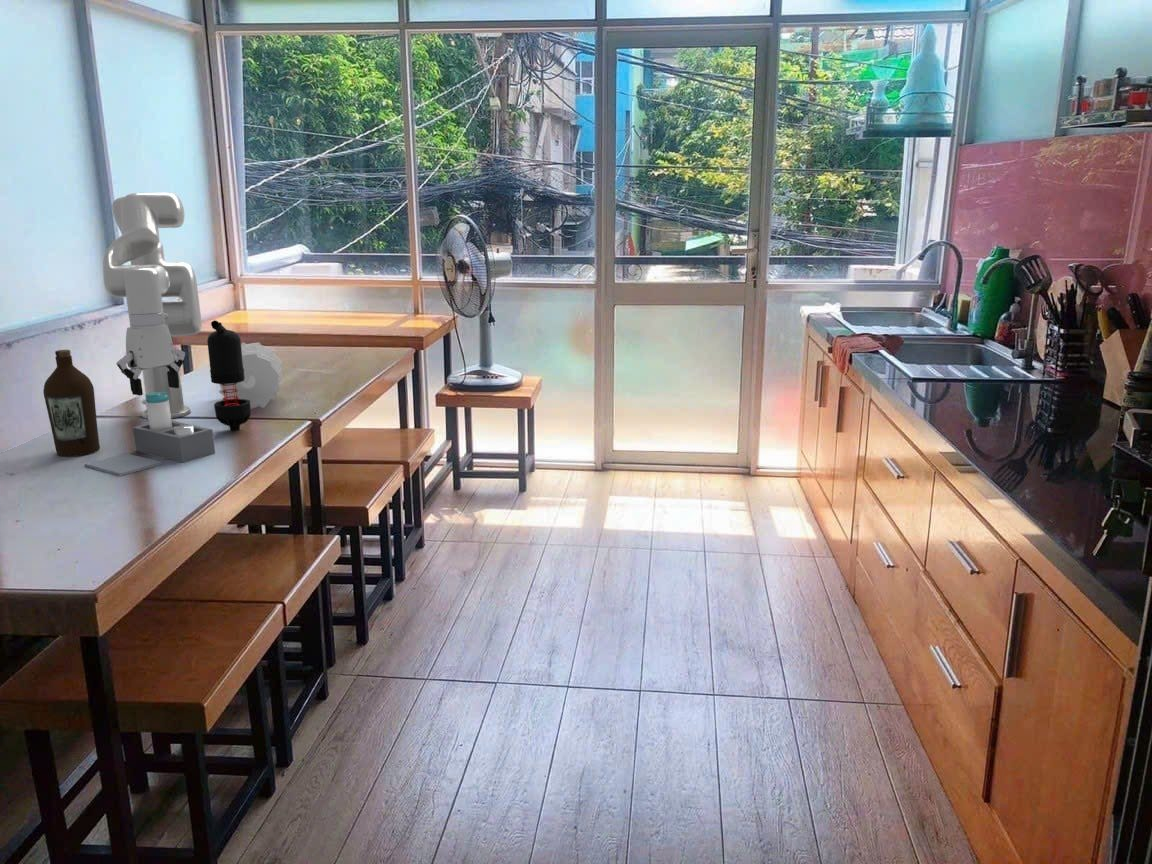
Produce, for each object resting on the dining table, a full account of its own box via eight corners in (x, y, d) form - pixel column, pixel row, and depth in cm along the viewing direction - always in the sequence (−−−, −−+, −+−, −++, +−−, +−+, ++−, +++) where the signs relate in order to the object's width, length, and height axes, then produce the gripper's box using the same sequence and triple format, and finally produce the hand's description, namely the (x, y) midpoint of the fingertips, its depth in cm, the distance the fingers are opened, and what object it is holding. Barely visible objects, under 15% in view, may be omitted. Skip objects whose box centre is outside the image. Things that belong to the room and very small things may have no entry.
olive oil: (61, 446, 224) (45, 347, 217) (107, 444, 226) (93, 346, 219) (47, 459, 214) (30, 355, 207) (95, 456, 216) (80, 353, 209)
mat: (84, 466, 208) (84, 463, 208) (125, 455, 216) (124, 453, 216) (121, 475, 201) (120, 473, 201) (161, 464, 209) (160, 461, 209)
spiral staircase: (270, 406, 281) (268, 421, 258) (213, 385, 275) (205, 399, 251) (292, 352, 279) (291, 363, 256) (235, 330, 273) (229, 339, 250)
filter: (244, 435, 233) (232, 320, 225) (209, 435, 233) (196, 321, 225) (262, 422, 246) (251, 313, 238) (229, 422, 246) (217, 313, 238)
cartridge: (148, 450, 220) (141, 394, 217) (166, 445, 225) (159, 391, 221) (161, 453, 218) (153, 397, 214) (179, 448, 222) (172, 393, 218)
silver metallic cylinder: (172, 447, 215) (169, 427, 214) (188, 443, 219) (185, 423, 218) (183, 450, 213) (181, 430, 212) (199, 446, 217) (197, 426, 216)
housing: (136, 451, 220) (132, 427, 218) (168, 442, 227) (165, 419, 226) (182, 462, 211) (179, 438, 209) (215, 453, 218) (212, 429, 217)
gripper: (169, 315, 222) (178, 383, 226) (102, 323, 207) (113, 396, 212) (189, 317, 218) (197, 386, 222) (122, 325, 204) (132, 399, 208)
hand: (156, 391), depth 217 cm, fingers open, 9 cm apart
